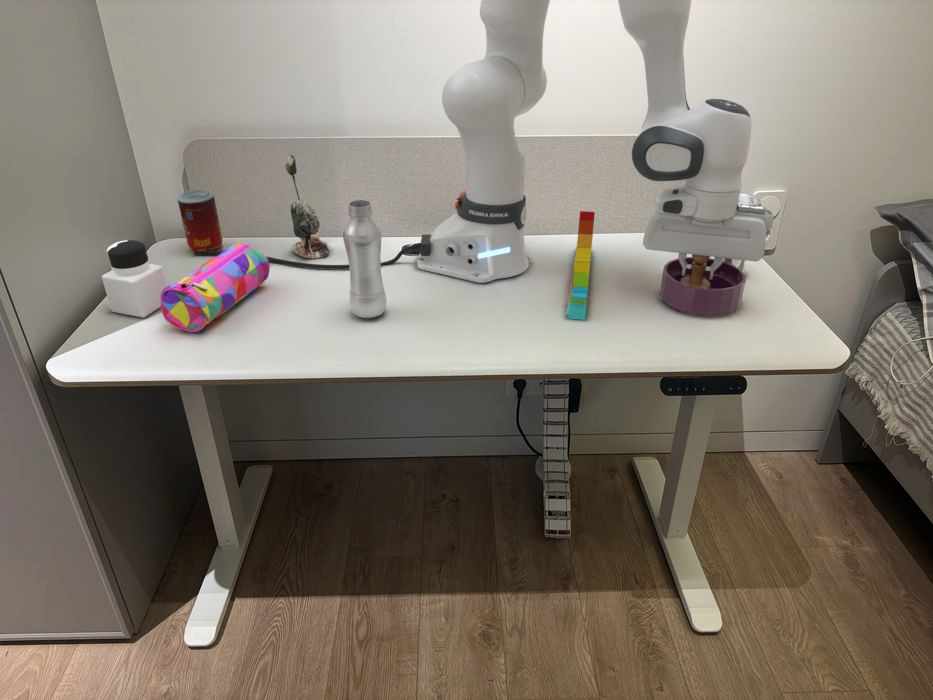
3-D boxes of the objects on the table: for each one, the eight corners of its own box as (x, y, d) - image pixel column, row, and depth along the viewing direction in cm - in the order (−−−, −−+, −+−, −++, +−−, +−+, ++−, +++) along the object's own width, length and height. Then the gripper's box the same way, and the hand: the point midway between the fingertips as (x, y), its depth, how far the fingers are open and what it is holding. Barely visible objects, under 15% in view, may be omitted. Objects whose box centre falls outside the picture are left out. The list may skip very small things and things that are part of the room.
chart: (575, 251, 146) (581, 181, 138) (590, 252, 146) (597, 181, 138) (566, 318, 120) (572, 237, 113) (584, 320, 120) (592, 238, 112)
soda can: (188, 246, 149) (176, 190, 143) (222, 241, 151) (212, 186, 145) (189, 258, 143) (177, 200, 137) (225, 253, 145) (214, 196, 139)
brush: (678, 287, 129) (688, 240, 124) (708, 291, 128) (718, 244, 123) (677, 299, 125) (686, 250, 120) (707, 303, 123) (718, 255, 119)
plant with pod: (285, 264, 141) (271, 166, 130) (297, 243, 150) (284, 150, 140) (325, 264, 141) (314, 166, 130) (334, 242, 150) (324, 149, 140)
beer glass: (749, 282, 133) (766, 206, 125) (711, 279, 134) (725, 204, 126) (744, 267, 139) (760, 194, 131) (707, 264, 140) (721, 192, 132)
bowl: (656, 312, 123) (660, 283, 120) (662, 279, 134) (666, 253, 131) (740, 323, 119) (746, 294, 116) (739, 289, 130) (745, 262, 127)
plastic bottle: (358, 325, 118) (347, 213, 108) (345, 309, 124) (333, 200, 113) (393, 317, 121) (386, 206, 111) (379, 302, 126) (371, 194, 116)
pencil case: (209, 341, 114) (198, 291, 109) (160, 332, 116) (147, 284, 112) (276, 286, 132) (269, 241, 127) (233, 279, 134) (225, 235, 130)
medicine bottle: (171, 301, 127) (156, 239, 120) (143, 318, 121) (126, 254, 115) (139, 295, 129) (123, 234, 122) (110, 312, 123) (92, 249, 117)
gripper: (775, 201, 117) (757, 276, 124) (650, 190, 122) (641, 262, 130) (777, 214, 112) (759, 291, 119) (647, 201, 117) (637, 276, 124)
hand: (696, 276), depth 124 cm, fingers closed on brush, 2 cm apart
